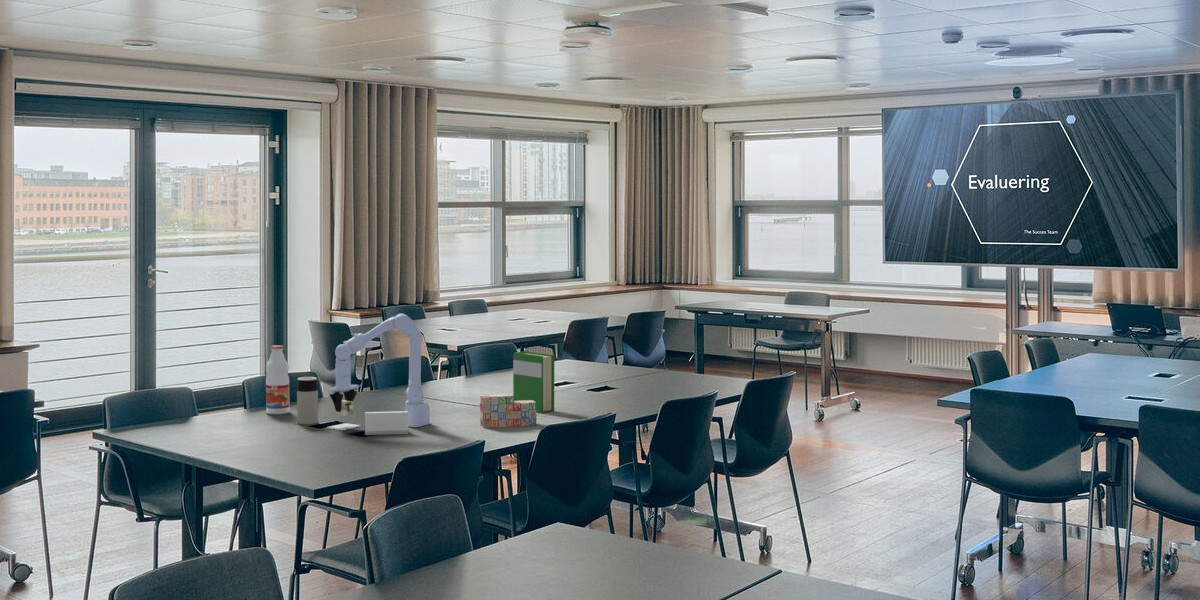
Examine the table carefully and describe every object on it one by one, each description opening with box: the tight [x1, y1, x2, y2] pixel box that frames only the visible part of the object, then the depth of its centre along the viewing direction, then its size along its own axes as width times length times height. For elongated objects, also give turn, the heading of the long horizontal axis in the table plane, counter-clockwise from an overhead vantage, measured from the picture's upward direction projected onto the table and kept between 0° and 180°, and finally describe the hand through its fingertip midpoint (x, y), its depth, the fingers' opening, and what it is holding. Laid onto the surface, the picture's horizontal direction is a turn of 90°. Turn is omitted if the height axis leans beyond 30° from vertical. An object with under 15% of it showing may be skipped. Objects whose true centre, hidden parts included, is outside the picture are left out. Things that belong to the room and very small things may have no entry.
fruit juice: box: [265, 344, 291, 415], centre depth 474 cm, size 9×9×28 cm
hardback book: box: [512, 350, 555, 414], centre depth 484 cm, size 18×7×24 cm, turn 46°
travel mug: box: [296, 376, 319, 426], centre depth 451 cm, size 8×8×18 cm
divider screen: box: [364, 410, 409, 436], centre depth 431 cm, size 16×5×8 cm, turn 100°
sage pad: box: [326, 422, 362, 432], centre depth 442 cm, size 10×8×1 cm
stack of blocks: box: [479, 393, 537, 429], centre depth 449 cm, size 21×6×12 cm, turn 106°
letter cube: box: [333, 399, 354, 417], centre depth 442 cm, size 5×5×5 cm
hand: (343, 410), depth 442 cm, fingers closed on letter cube, 5 cm apart
